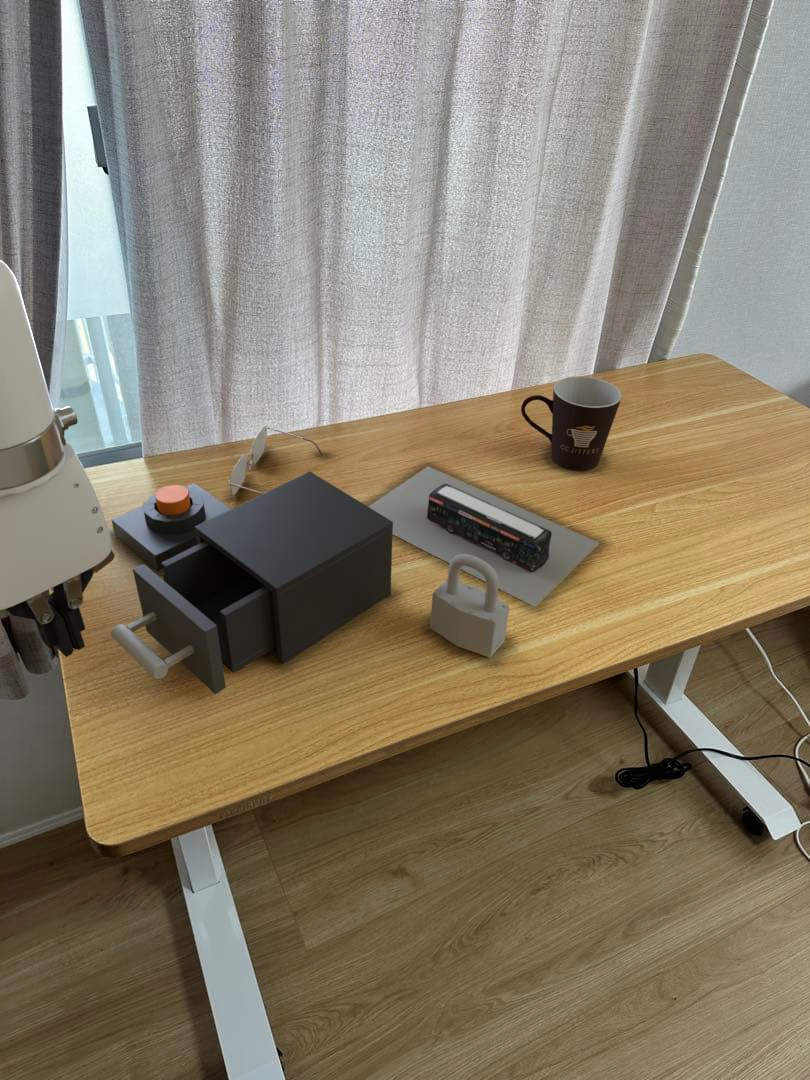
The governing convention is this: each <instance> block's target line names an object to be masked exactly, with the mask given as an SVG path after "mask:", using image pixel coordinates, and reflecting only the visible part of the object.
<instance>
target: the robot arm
mask: <svg viewBox="0 0 810 1080" xmlns="http://www.w3.org/2000/svg"><path fill="white" fill-rule="evenodd" d="M75 425H78V417H77V414H76V412H75V410H74V409H73V408H72V407H71V406H69V405H67V406H65V407H62V408H59V407H57V408H54V406H53V403H52V399H51V396H50V393H49V389H48V385H47V382H46V378H45V373H44V371H43V367H42V364H41V360H40V357H39V353H38V349H37V346H36V343H35V339H34V334H33V331H32V327H31V323H30V321H29V317H28V314H27V310H26V306H25V303H24V299H23V295H22V292H21V288H20V286H19V283H18V280H17V277H16V276H15V274H14V272H13V271H12V269H11V268H10V267H9V266H8V264H7V263H5V262H4V261H3V260H2V259H0V620H2V619H5V618H7V617H8V616H14V617H19V618H24V619H29V620H33V621H34V622H35V625H36V628H37V631H38V633H39V636H40V638H41V640H42V642H43V643H44V644H45V646H46V647H47V648H48V649H51V648H53V647H56V649H58V650H59V652H60V653H61V654H62V655H63V656H64V657H65V658H67V657H69V656H71V655H73V653H74V651H80V650H82V649H84V648H85V647H86V645H85V642H84V638H83V636H82V632H83V631H85V630H86V626H85V622H84V619H83V616H82V612H81V609H80V607H81V606H82V605H83V602H84V595H83V594H84V592H85V590H86V589H87V587H88V585H89V583H90V582H91V580H92V578H93V577H94V574H97V573H98V572H99V571H101V570H102V569H103V568H105V567H106V566H108V565H109V564H110V563H112V561H113V560H114V559H115V552H114V551H113V549H112V538H111V535H110V530H109V527H108V524H107V523H108V522H107V520H106V517H105V515H104V512H103V508H102V507H101V504H100V501H99V498H98V495H97V494H96V491H95V489H94V487H93V483H92V482H91V480H90V478H89V476H88V474H87V471H86V469H85V467H84V465H83V463H82V462H81V459H80V458H79V456H78V454H77V452H76V451H75V449H74V447H73V446H72V445H71V444H70V443H69V442H68V441H67V439H66V438H65V431H67V430H69V428H70V427H72V426H75ZM48 590H51V592H52V593H50V594H48V595H47V596H48V599H46V597H45V595H44V592H46V591H48Z"/></svg>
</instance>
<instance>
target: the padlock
mask: <svg viewBox="0 0 810 1080" xmlns="http://www.w3.org/2000/svg"><path fill="white" fill-rule="evenodd" d="M462 566H468V567H471V568H474V569H475V570H477V571H479V572H480V573H481V574H482V575H483V576H484V577H485V579H486V582H485V583H486V589H485V590H484V589H482V588H480V587H477V586H474V585H471V584H468V583H465V582H462V581H460V574H461V567H462ZM447 573H448V574H447V579H445V580H444V581H443V582H442V583H441V584H440V585H439V586H438V587H437V588H436V589H435V590H434V591H433V592H432V598H431V609H430V610H431V612H430V624H429V628H430V629H431V630H432V631H434V632H435V633H436V634H438V635H440V636H441V637H443V638H444V639H446V640H447V641H449V642H450V643H452V644H453V645H454V646H456V647H458V648H460V649H461V648H462V649H464V650H467V651H470V652H473V653H475V654H478V655H481V656H484V657H487V658H491V657H493V655H494V654H495V653H496V652H497V651H498V650H499V648H500V647H501V646H502V645H503V644H504V642H505V639H506V632H507V627H508V626H507V625H508V621H509V620H508V619H509V613H510V606H509V604H507V603H505V602H503V601H502V600H500V599H499V598H498V596H499V589H498V588H499V581H498V576H497V574H496V572H495V570H494V569H493V568H492V567H491V566H490V565H489V564H488V563H486V562H485V561H483V560H482V559H480V558H478V557H475V556H472V555H468V554H460V555H457V556H455V557H454V558H453V559H452V560H451V562H450V563H449V565H448V572H447Z"/></svg>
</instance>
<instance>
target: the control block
mask: <svg viewBox="0 0 810 1080" xmlns="http://www.w3.org/2000/svg"><path fill="white" fill-rule="evenodd" d="M184 487H185V488H187V490H188V492H189V498H190V508H189V509H188V510H187V511H186V512H183V513H181V514H176V515H165V514H162V513H160V512H159V511H158V508H157V503H156V498H155V495H156V492H155V493H153V494H151V495H150V496H149V497H148V498H147V499H146V500H145V501H144V502H143V505H141V506H138V507H137V508H135V509H132V510H130V511H128V512H125V513H123V514H121V515H119V516H117V517H114V518H112V519H111V525H112V529H113V532H114V533H113V534H114V536H115V537H117V538H118V539H119V540H120V541H121V542H123V544H125V545H126V546H127V547H129V548H130V549H131V550H132V551H133V552H134V553H136V554H137V555H138V556H139V557H141V559H143V560H144V561H145V562H147V563H148V564H149V566H151V567H153V569H155V571H157V572H160V571H163V570H162V565H161V563H162V562H164V561H166V560H168V559H170V558H172V557H174V556H176V555H178V554H180V553H182V552H184V551H186V550H188V549H190V548H192V547H194V546H196V545H197V540H196V533H195V526H197V525H199V524H201V523H203V522H205V521H207V520H210V519H212V518H214V517H216V516H218V515H220V514H222V513H224V512H226V511H228V510H230V509H232V508H230V507H229V506H228V505H227V504H225V503H224V502H223V501H221V500H219V499H217V498H216V497H215V496H213V494H210V493H209V492H208V491H206V490H205V489H204V488H203V487H201V486H200V485H198V484H197V483H195V482H193V483H191V484H189V485H187V486H184Z"/></svg>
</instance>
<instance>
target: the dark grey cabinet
mask: <svg viewBox="0 0 810 1080" xmlns="http://www.w3.org/2000/svg"><path fill="white" fill-rule="evenodd" d="M263 493H264V494H259V495H257V496H256V497H253V498H251V499H249V500H247V501H244V502H243V503H241V504H239V505H237V506H234V507H233V508H231V509H230V510H228V511H226V512H224V513H222V514H220V515H218V516H216V517H214V518H212V519H210V520H207V521H205V522H203V523H201V524H199V525H197V526H195V533H196V540H197V545H198V544H200V543H202V542H204V541H207V542H208V543H209V544H211V545H212V546H213V547H214V548H216V549H217V550H218V551H220V552H221V553H222V554H224V555H225V556H226V557H228V558H229V559H230V560H232V561H233V562H234V563H236V564H237V565H238V566H239V567H241V568H242V569H243V570H245V571H246V572H247V573H249V574H250V575H251V576H253V577H254V578H255V579H257V580H258V581H259V582H260V583H262V584H263V585H264V586H266V587H267V588H268V589H270V590H271V591H272V598H273V610H274V621H275V633H276V644H277V646H276V647H275V648H273V649H272V650H270V651H268V652H267V654H269V655H271V656H272V657H273V658H274V659H275V660H277V661H278V662H279V663H280V664H281V665H284V664H286V663H288V662H289V661H290V660H292V659H294V658H296V657H297V656H298V655H300V654H301V653H303V652H305V651H306V650H308V649H309V648H311V647H312V646H314V645H315V644H317V643H319V642H320V641H321V640H323V639H325V638H326V637H328V636H329V635H331V634H332V633H334V632H336V631H337V630H339V629H340V628H341V627H344V626H345V625H346V624H347V623H350V621H353V620H354V619H356V618H358V617H359V616H361V615H362V614H363V613H364V612H366V611H368V610H370V609H371V608H373V607H375V606H376V605H377V604H379V603H381V601H384V600H385V599H386V598H388V597H389V596H391V595H392V589H391V588H392V566H393V565H392V563H393V562H392V561H393V560H392V559H393V534H392V533H393V529H392V528H393V522H392V521H391V520H389V519H387V518H386V517H384V516H382V515H381V514H379V513H378V512H376V511H374V510H373V509H371V508H369V507H368V506H369V505H366V504H364V503H363V502H362V501H359V500H358V499H356V498H355V497H353V496H351V495H350V494H348V493H346V492H345V491H343V490H342V489H340V488H338V487H337V486H335V485H333V484H332V483H330V482H328V481H327V480H325V479H324V478H322V477H321V476H319V475H318V474H316V473H314V472H312V471H307V472H305V473H303V474H301V475H299V476H297V477H295V478H293V479H291V480H289V481H287V482H284V483H282V484H281V485H278V486H276V487H273V488H272V489H270V490H268V491H266V492H263Z"/></svg>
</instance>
